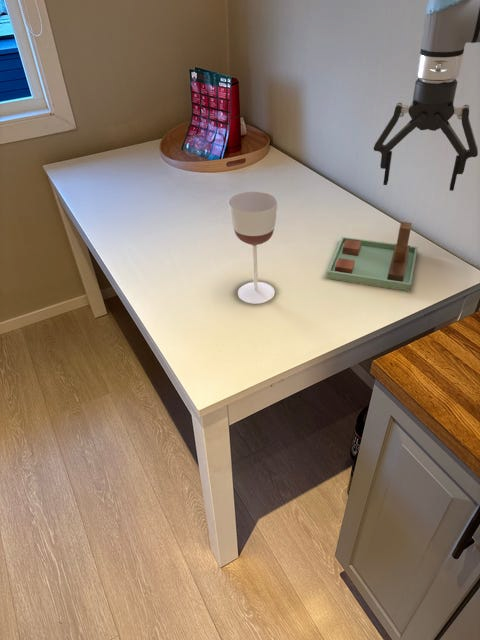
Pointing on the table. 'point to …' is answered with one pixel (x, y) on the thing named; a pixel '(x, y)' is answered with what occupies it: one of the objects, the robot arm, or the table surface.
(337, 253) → the tray
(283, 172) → the table surface
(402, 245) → the brown piece
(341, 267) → the chip
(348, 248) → the chip
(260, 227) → the wineglass
